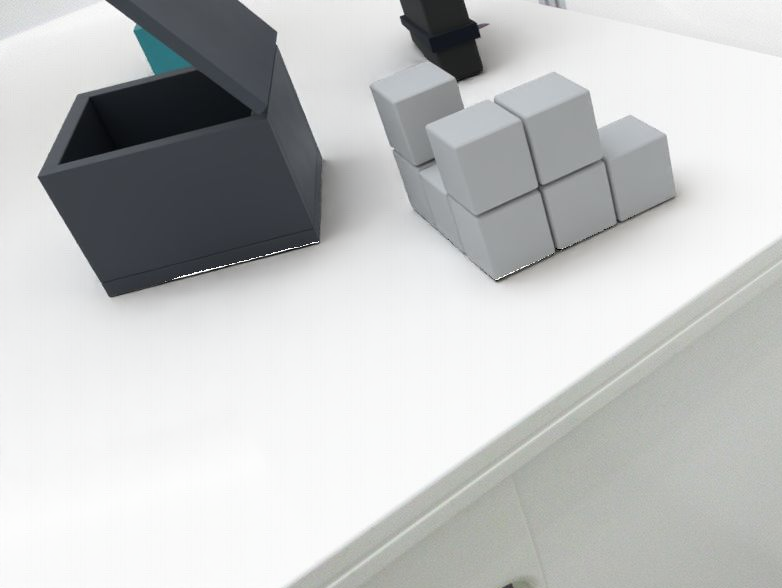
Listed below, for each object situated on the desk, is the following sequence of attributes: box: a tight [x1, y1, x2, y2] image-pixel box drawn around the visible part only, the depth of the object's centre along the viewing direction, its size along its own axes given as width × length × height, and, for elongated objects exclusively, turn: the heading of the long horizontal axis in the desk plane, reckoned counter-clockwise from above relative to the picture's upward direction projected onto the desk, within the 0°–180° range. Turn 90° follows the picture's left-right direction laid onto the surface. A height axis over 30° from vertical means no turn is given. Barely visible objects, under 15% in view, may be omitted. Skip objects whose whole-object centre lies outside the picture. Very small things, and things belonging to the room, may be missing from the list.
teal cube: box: [132, 23, 192, 75], centre depth 92 cm, size 4×4×4 cm
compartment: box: [37, 44, 323, 298], centre depth 67 cm, size 13×12×8 cm
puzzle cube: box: [369, 60, 677, 280], centre depth 62 cm, size 12×12×8 cm
